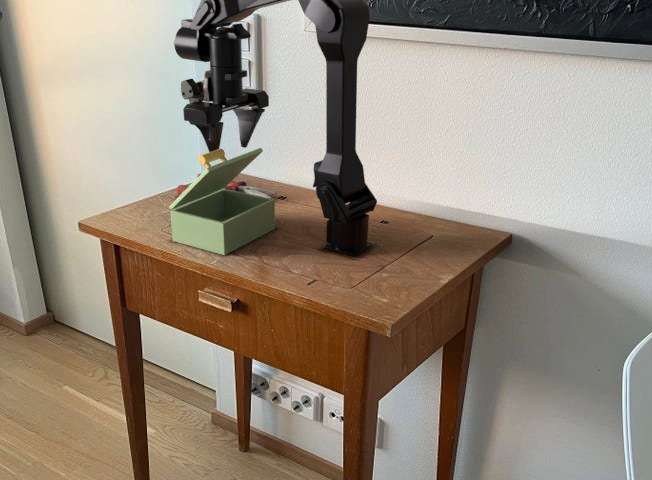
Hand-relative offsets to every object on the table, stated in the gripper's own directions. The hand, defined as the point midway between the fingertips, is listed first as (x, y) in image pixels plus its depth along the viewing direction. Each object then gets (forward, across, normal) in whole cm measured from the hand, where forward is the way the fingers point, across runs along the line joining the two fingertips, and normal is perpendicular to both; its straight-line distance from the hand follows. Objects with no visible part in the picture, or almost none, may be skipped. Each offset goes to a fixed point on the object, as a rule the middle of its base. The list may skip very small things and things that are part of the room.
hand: (229, 152), depth 139 cm
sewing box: (+12, +10, +6) cm, 17 cm away
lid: (+2, +10, +5) cm, 11 cm away
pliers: (+12, -7, -8) cm, 16 cm away
